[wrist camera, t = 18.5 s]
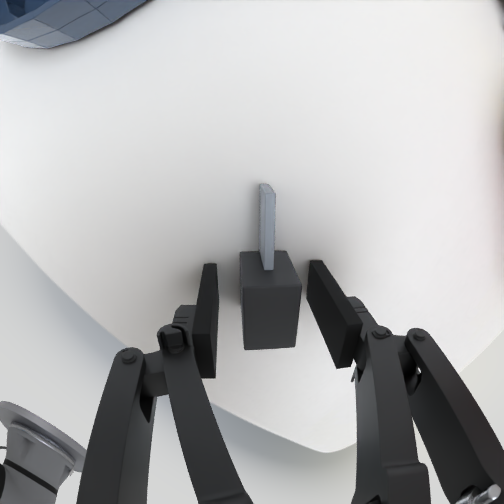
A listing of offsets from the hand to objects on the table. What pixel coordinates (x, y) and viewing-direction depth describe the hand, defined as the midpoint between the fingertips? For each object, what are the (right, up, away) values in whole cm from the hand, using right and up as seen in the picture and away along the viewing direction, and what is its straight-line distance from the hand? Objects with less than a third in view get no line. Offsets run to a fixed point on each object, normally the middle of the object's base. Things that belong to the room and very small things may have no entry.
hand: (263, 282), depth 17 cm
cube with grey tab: (0, +2, -1) cm, 2 cm away
